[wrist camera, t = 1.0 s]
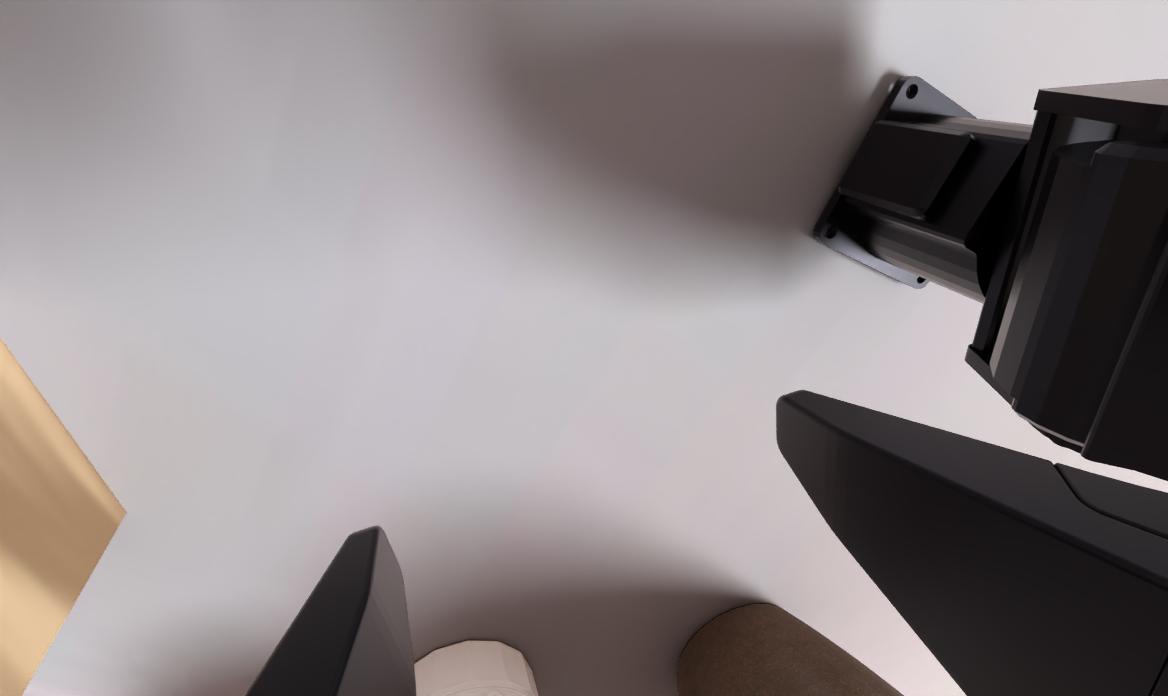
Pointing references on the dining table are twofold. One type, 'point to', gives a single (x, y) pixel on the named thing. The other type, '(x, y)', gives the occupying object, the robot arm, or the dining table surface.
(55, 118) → the dining table surface
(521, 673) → the white cup
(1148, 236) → the robot arm
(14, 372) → the oak block
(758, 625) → the plant pot
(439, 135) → the dining table surface
